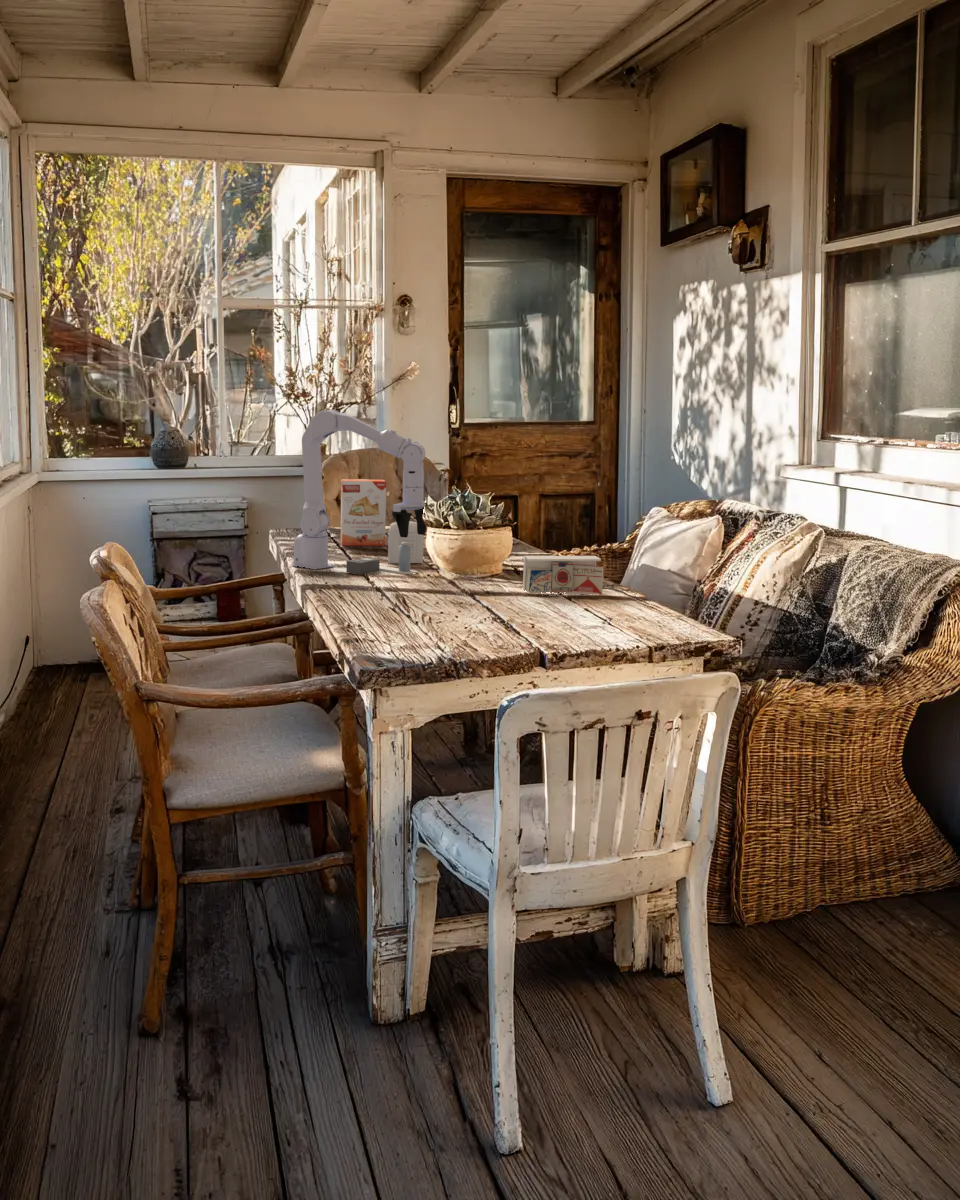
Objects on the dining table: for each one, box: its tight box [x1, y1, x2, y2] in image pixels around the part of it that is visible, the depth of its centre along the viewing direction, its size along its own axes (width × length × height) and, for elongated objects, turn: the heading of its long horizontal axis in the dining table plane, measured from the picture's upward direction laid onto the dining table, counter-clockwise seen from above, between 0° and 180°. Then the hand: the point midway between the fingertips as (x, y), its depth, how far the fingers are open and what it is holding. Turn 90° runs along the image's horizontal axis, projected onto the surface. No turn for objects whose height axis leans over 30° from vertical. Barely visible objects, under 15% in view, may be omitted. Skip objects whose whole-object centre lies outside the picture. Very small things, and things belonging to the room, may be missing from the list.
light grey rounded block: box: [387, 520, 425, 565], centre depth 340 cm, size 10×4×12 cm, turn 98°
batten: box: [379, 565, 420, 575], centre depth 327 cm, size 16×4×1 cm, turn 53°
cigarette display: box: [522, 555, 604, 595], centre depth 299 cm, size 20×6×9 cm, turn 98°
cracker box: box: [340, 478, 387, 547], centre depth 374 cm, size 14×6×21 cm, turn 102°
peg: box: [398, 542, 411, 572], centre depth 324 cm, size 3×3×8 cm
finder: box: [346, 557, 381, 575], centre depth 325 cm, size 5×8×4 cm, turn 143°
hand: (412, 535), depth 327 cm, fingers open, 7 cm apart
